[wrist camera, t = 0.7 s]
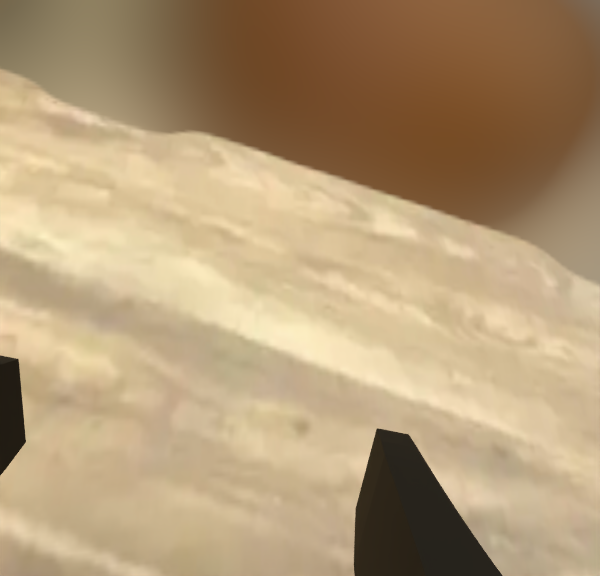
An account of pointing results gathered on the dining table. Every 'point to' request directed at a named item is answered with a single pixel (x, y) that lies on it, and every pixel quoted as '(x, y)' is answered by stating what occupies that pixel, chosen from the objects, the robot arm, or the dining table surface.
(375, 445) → the robot arm
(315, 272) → the dining table surface
